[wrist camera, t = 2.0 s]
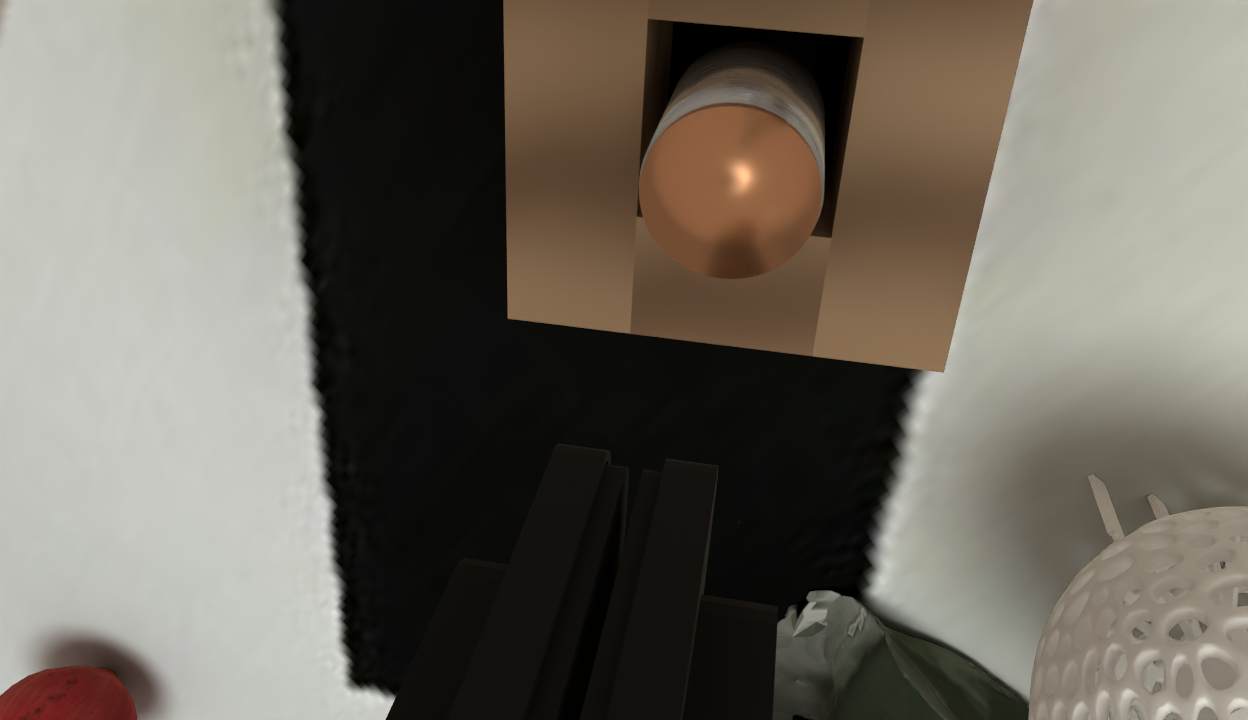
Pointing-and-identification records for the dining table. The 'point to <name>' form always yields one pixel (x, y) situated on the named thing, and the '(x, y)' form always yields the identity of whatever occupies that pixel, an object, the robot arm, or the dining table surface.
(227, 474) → the dining table surface
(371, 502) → the dining table surface
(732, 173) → the plunger
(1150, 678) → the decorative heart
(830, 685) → the rose bouquet
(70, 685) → the onion
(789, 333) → the socket block
